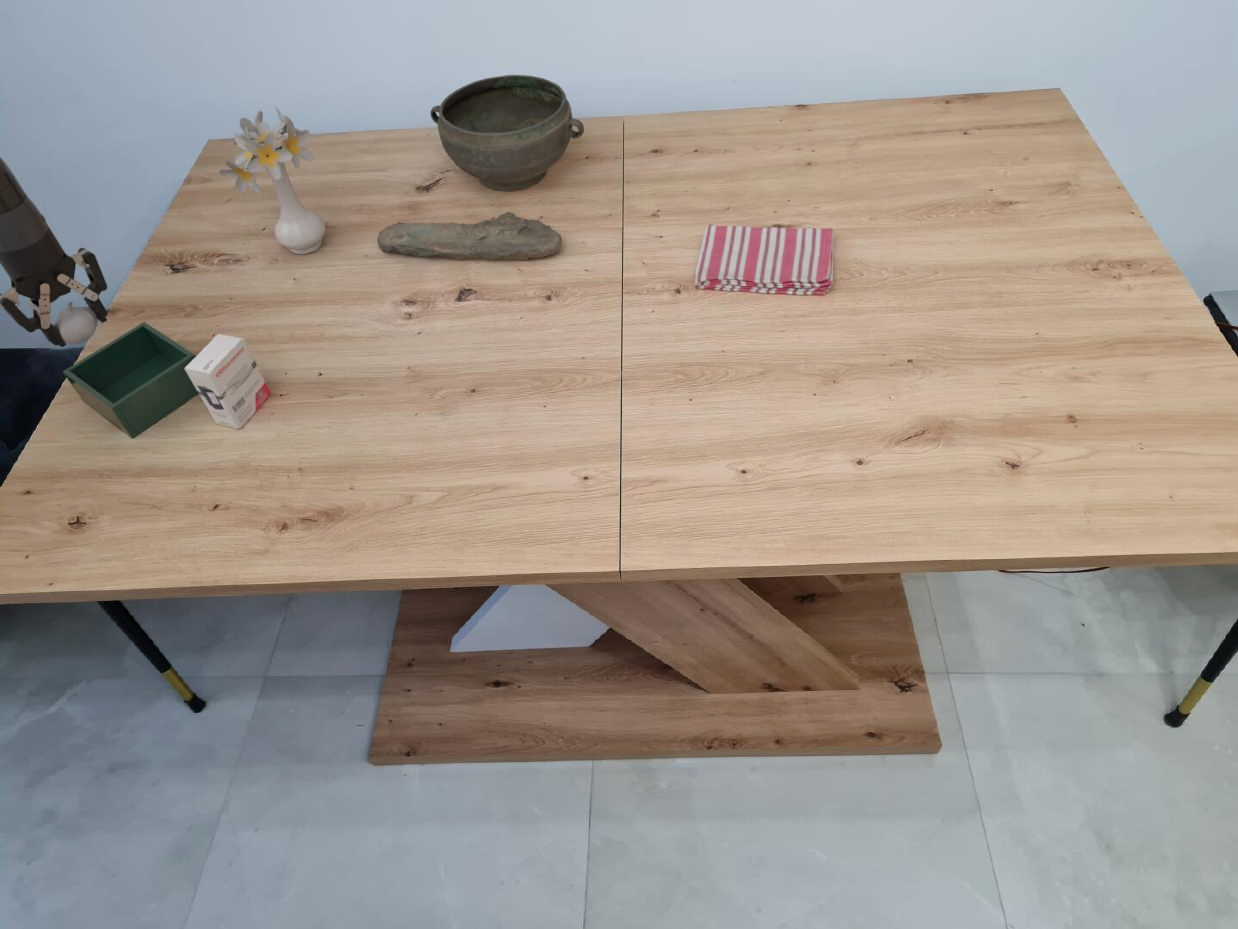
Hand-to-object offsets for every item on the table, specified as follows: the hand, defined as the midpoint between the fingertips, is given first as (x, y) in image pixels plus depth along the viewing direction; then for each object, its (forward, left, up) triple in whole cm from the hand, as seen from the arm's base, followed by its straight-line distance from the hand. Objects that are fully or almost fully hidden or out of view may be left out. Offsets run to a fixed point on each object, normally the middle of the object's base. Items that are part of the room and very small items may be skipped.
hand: (81, 331), depth 131 cm
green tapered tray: (+4, +2, -16) cm, 17 cm away
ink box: (+11, -15, -16) cm, 24 cm away
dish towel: (+87, -63, -16) cm, 108 cm away
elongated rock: (+62, -15, -16) cm, 65 cm away
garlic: (0, 0, -1) cm, 1 cm away
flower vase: (+45, +12, -16) cm, 49 cm away
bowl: (+86, -4, -16) cm, 87 cm away
